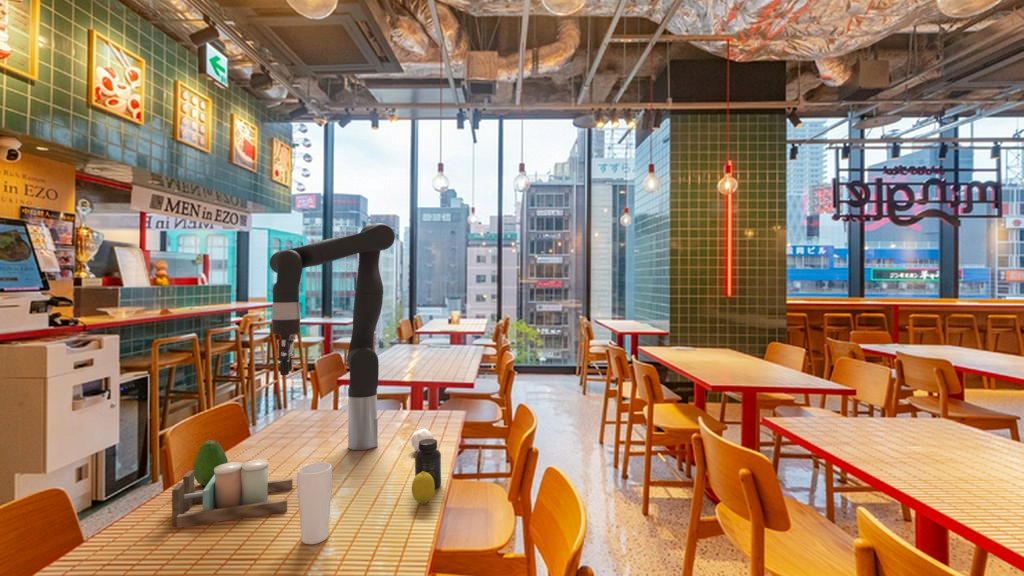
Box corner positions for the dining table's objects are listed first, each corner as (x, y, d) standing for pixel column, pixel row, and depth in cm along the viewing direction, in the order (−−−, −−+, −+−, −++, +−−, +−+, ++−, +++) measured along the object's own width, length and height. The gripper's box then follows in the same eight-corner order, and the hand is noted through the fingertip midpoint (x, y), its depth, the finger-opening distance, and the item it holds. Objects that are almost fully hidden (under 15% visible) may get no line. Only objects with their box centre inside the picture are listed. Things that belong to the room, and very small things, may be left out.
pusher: (220, 498, 117) (220, 473, 117) (209, 518, 107) (208, 490, 107) (181, 503, 115) (181, 477, 115) (166, 524, 104) (166, 495, 104)
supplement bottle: (446, 483, 126) (445, 439, 126) (431, 493, 120) (431, 447, 120) (425, 479, 129) (424, 436, 129) (409, 489, 123) (409, 443, 123)
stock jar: (244, 499, 117) (244, 460, 117) (240, 510, 112) (239, 469, 112) (217, 504, 115) (217, 464, 115) (212, 514, 110) (211, 472, 110)
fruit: (190, 493, 121) (190, 446, 121) (195, 482, 128) (195, 438, 128) (226, 487, 125) (226, 442, 125) (228, 476, 132) (228, 434, 132)
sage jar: (269, 496, 119) (270, 458, 119) (266, 506, 113) (266, 466, 113) (243, 500, 117) (244, 460, 117) (239, 510, 111) (239, 469, 111)
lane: (292, 487, 125) (292, 457, 125) (286, 511, 111) (286, 477, 111) (190, 501, 117) (190, 468, 117) (170, 528, 103) (170, 492, 103)
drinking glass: (304, 531, 102) (304, 462, 102) (336, 529, 102) (336, 461, 102) (292, 548, 95) (292, 474, 95) (326, 546, 96) (326, 473, 96)
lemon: (438, 501, 116) (438, 468, 116) (427, 511, 111) (427, 477, 111) (419, 497, 118) (419, 466, 118) (407, 507, 113) (407, 474, 113)
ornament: (410, 455, 148) (403, 431, 152) (422, 456, 154) (415, 433, 158) (429, 445, 147) (421, 421, 151) (440, 447, 153) (433, 424, 157)
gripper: (297, 318, 133) (298, 375, 133) (301, 316, 147) (302, 368, 146) (268, 319, 131) (268, 377, 131) (275, 316, 144) (275, 369, 144)
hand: (286, 372), depth 139 cm, fingers open, 8 cm apart
